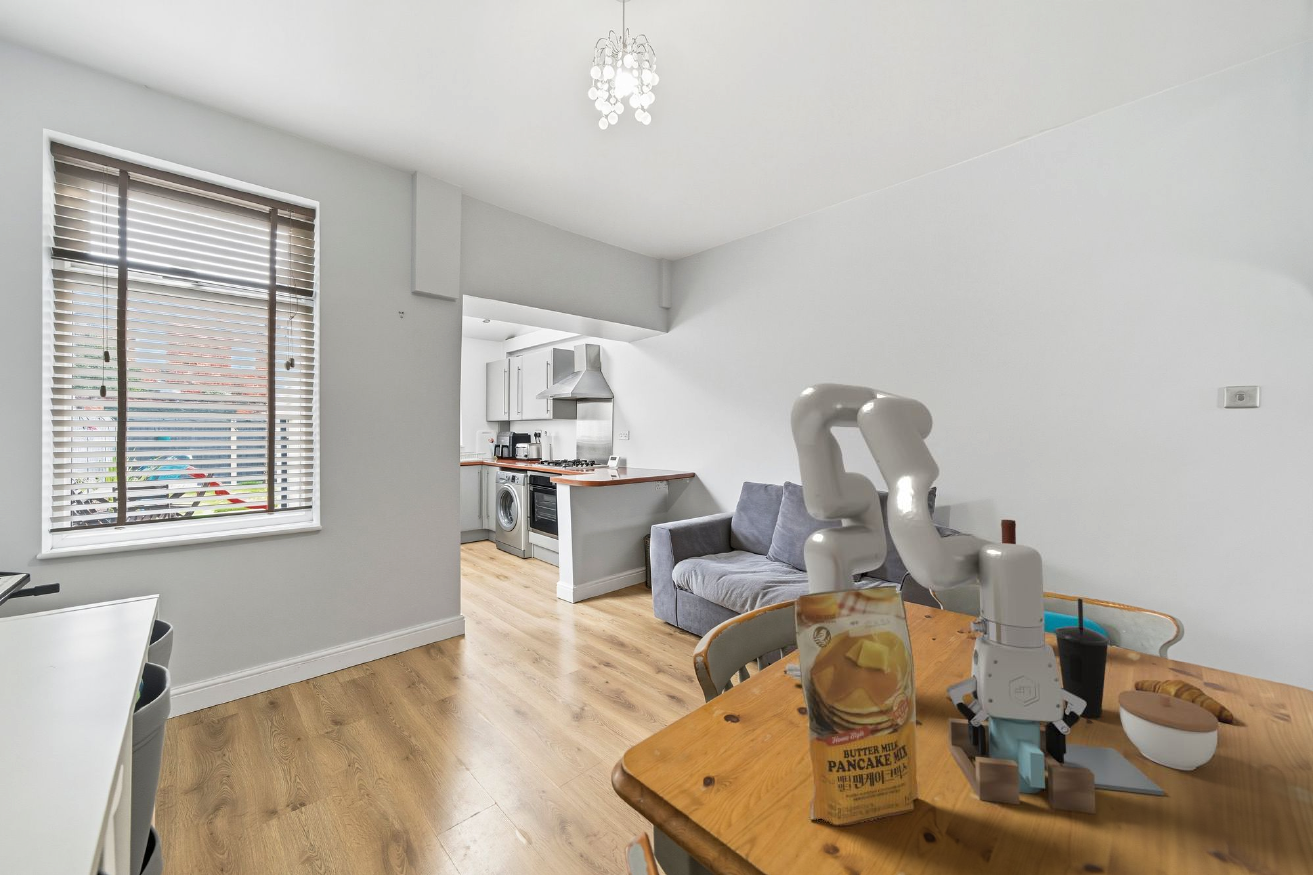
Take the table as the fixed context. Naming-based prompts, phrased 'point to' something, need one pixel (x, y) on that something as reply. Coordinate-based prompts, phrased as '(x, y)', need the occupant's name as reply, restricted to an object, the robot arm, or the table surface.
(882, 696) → the pancake mix bag
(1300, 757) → the table surface
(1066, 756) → the coaster
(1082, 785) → the cradle
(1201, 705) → the croissant
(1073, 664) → the drinking cup
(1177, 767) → the lidded jar
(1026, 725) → the jug
